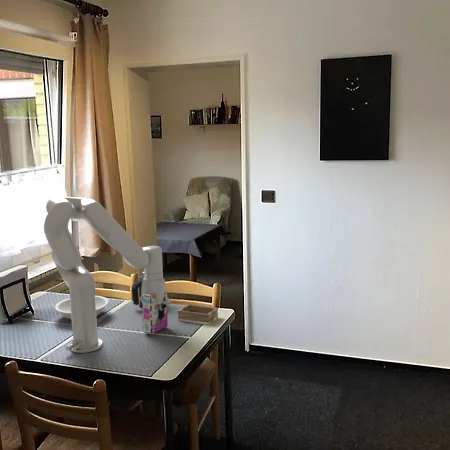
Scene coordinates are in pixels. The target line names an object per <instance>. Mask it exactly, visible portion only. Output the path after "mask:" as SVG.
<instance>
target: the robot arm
mask: <svg viewBox="0 0 450 450" xmlns="http://www.w3.org/2000/svg"><path fill="white" fill-rule="evenodd" d="M45 209H46V212H47V214H46V216H45V220H44V224H43V231H44V236H45V238H46V240H47V242H48V244H49V247H50V249H51V258H52V260H53V263H54V265H55V266H56V268H57V271H58V272H59V274H60V276H61V278H62V280H63V283H65V284H66V286H67V287H68V289H69V298H70V310H71V319H70V320H71V328H72V329H71V331H72V339H71V343H69V344H67V345H66V346H65V350H66V351H68V352H69V351H71V352H72V353H77V354H84V353H85V354H86V353H90V352H91V353H93V352H94V351H97V350H100V349H101V348H102V347H103V345H104V342H103V340H102V339H100V338H99V332H98V331H99V330H98V321H97V316H96V307H95V296H96V294H95V293H96V281H95V278H94V276H93V275H92V273H91V271H89V270H88V269H86V267H85V266H84V264H83V262H82V254H81V252H80V250H79V249H78V247H77V245H76V243H75V241H74V239H73V237H72V235H71V233H70V230H69V223H70V221H71V220H72V219H73V220H75V219H76V220H78V219H79V220H81V219H82V220H84V222H86V223H87V225H88V226H90V227H91V228H92V229H93V230H94V232H95V233H96V234H97V235H98V236H100V238H101V239H102V240H103V241H105V243H107V244H108V245H109V246H110V247H112V248H113V249H115V250H116V251H117V252H118V253H119V254H120V255H121V256H122V257H123V261H124V262H125V263H126V265H127V264H128V265H129V266H130V267H132V268H134V269H135V270H138V271H139V270H140V271H141V270H143V271H142V273H141V274H142V275H144V277H145V278H144V279H143V282H142V291H141V296H140V298H139V300H140V301H141V302H142V295H144V294H153V295H155V300H156V304H158V306H159V309H160V310H159V319H160V320H161V319H162V318H164V309H165V308H166V307H167V308H168V306H169V305H170V304H171V300H170V298H169V297H168V290H167V286H166V280H165V278H164V275H163V274H164V273H163V268H164V267H163V249H162V247H161V246H159V245H147V246H141V245H140V244H139V243H137V241H136V240H135V239H133V237H132V236H131V235H130V234H129V233H128V232H127V231H126V230H125V229H124V228H123V226H121V224H119V223H118V221H117V220H115V218H114V217H113V216H112V215H111V214H110V212H108V210H107V209H105V207H103V205H102V204H100V202H99V201H96V200H94V199H92V198H87V197H86V198H85V197H71V196H60V195H59V196H58V195H57V196H53V197H51V198H50V199H49V200H48V201H47V203H46V205H45ZM166 290H167V291H166ZM165 301H166V303H165V304H164V302H165Z"/></svg>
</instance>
